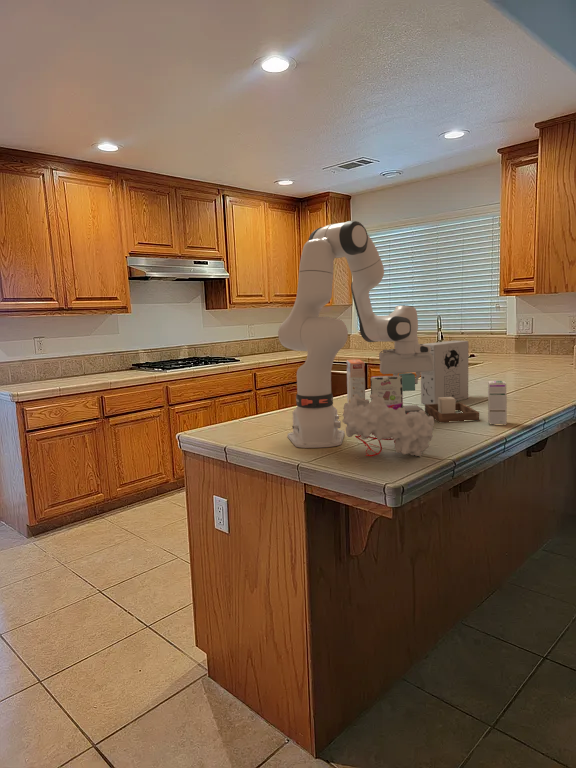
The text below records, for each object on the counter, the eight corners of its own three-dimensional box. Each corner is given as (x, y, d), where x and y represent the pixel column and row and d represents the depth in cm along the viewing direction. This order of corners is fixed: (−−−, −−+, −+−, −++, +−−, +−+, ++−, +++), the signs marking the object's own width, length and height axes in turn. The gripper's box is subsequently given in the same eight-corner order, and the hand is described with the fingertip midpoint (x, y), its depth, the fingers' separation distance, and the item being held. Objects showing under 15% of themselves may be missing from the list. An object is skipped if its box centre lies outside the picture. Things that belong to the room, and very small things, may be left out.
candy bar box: (403, 419, 191) (402, 375, 188) (403, 422, 186) (402, 377, 183) (372, 419, 193) (371, 375, 191) (371, 422, 189) (370, 377, 186)
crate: (479, 420, 183) (479, 412, 183) (439, 422, 183) (439, 414, 183) (461, 410, 202) (461, 402, 202) (425, 412, 202) (424, 404, 202)
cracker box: (366, 416, 198) (365, 362, 195) (350, 417, 199) (349, 362, 196) (362, 409, 212) (360, 358, 209) (347, 410, 212) (345, 359, 209)
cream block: (455, 414, 195) (455, 398, 194) (442, 415, 195) (441, 399, 194) (451, 412, 200) (451, 396, 199) (438, 412, 200) (438, 397, 199)
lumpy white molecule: (384, 468, 158) (318, 430, 150) (412, 415, 160) (349, 375, 152) (420, 486, 140) (348, 444, 132) (452, 426, 141) (382, 380, 133)
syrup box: (506, 425, 174) (507, 382, 172) (488, 425, 176) (488, 382, 174) (505, 422, 179) (506, 380, 177) (487, 421, 181) (487, 380, 179)
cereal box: (454, 396, 231) (454, 340, 228) (468, 398, 225) (468, 340, 222) (420, 403, 219) (420, 344, 216) (435, 405, 213) (434, 344, 210)
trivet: (423, 415, 197) (423, 410, 196) (397, 416, 197) (397, 411, 196) (416, 410, 206) (416, 405, 206) (391, 411, 206) (391, 406, 206)
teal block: (415, 390, 198) (414, 374, 197) (402, 391, 198) (401, 375, 197) (411, 388, 203) (411, 373, 202) (399, 389, 203) (398, 373, 202)
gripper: (380, 350, 195) (381, 387, 197) (435, 347, 195) (435, 384, 197) (377, 349, 201) (378, 384, 203) (430, 346, 201) (430, 381, 203)
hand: (407, 384), depth 200 cm, fingers closed on teal block, 5 cm apart
